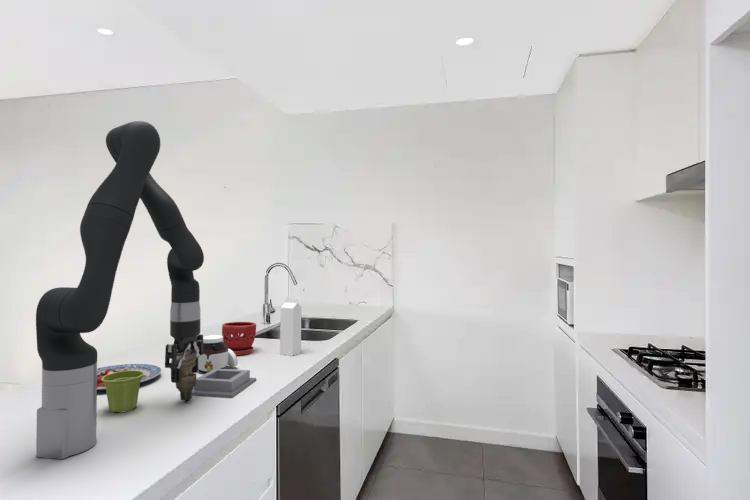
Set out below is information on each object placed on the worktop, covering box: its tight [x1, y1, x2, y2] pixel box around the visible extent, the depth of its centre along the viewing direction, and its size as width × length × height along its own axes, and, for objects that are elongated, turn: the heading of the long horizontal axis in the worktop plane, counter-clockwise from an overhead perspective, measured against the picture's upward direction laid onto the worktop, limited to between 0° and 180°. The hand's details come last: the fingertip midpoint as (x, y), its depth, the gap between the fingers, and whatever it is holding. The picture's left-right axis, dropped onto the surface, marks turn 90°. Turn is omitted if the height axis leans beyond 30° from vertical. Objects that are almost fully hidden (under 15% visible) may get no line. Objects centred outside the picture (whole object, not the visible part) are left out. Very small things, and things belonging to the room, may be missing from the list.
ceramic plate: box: [97, 363, 162, 391], centre depth 130 cm, size 26×26×3 cm
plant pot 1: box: [102, 370, 144, 413], centre depth 107 cm, size 9×9×9 cm
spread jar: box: [198, 334, 239, 375], centre depth 143 cm, size 12×11×12 cm
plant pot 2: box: [221, 321, 257, 356], centre depth 167 cm, size 13×13×12 cm
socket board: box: [192, 368, 257, 399], centre depth 125 cm, size 16×14×4 cm
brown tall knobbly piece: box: [175, 348, 197, 403], centre depth 112 cm, size 6×6×15 cm
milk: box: [279, 298, 302, 357], centre depth 167 cm, size 6×6×22 cm
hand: (185, 377), depth 113 cm, fingers open, 8 cm apart
